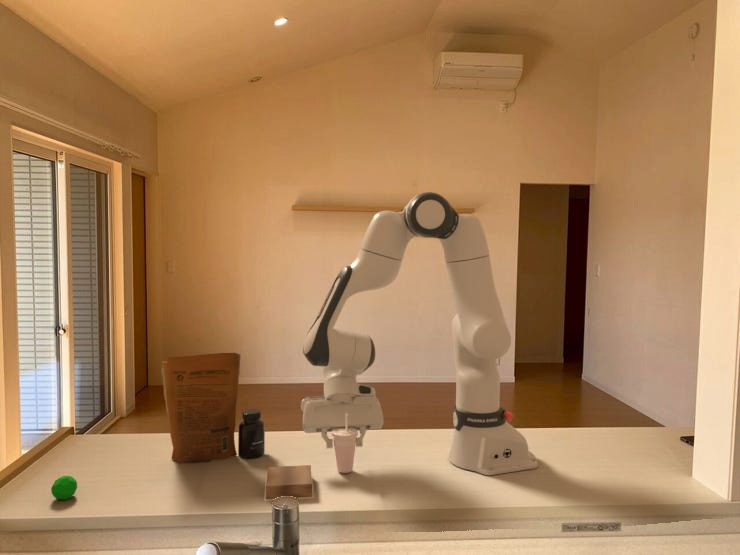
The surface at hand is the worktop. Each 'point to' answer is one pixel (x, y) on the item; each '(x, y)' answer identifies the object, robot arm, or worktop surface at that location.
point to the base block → (289, 481)
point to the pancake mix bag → (201, 405)
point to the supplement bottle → (251, 435)
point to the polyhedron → (64, 487)
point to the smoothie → (344, 446)
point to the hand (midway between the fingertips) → (344, 446)
